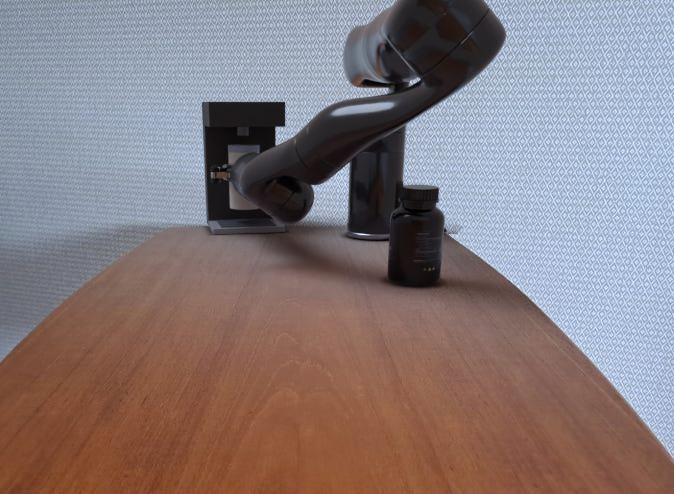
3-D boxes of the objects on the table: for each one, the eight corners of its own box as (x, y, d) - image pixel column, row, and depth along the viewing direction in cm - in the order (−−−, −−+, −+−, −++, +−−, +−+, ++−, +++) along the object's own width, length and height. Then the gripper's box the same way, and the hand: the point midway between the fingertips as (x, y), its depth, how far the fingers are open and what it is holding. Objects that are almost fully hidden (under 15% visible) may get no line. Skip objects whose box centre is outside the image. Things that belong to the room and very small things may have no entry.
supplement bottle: (376, 277, 90) (381, 184, 86) (419, 272, 92) (425, 182, 88) (406, 289, 84) (412, 190, 80) (450, 284, 87) (459, 188, 82)
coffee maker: (285, 232, 122) (285, 101, 114) (213, 234, 120) (208, 101, 112) (272, 220, 134) (271, 102, 126) (206, 222, 132) (201, 102, 124)
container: (262, 205, 126) (261, 144, 122) (257, 210, 121) (256, 145, 117) (233, 205, 127) (231, 143, 123) (226, 209, 122) (224, 145, 118)
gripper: (213, 203, 108) (203, 191, 124) (301, 201, 111) (280, 189, 127) (211, 154, 106) (202, 148, 121) (301, 153, 109) (280, 147, 124)
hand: (242, 169), depth 124 cm, fingers closed on container, 5 cm apart
